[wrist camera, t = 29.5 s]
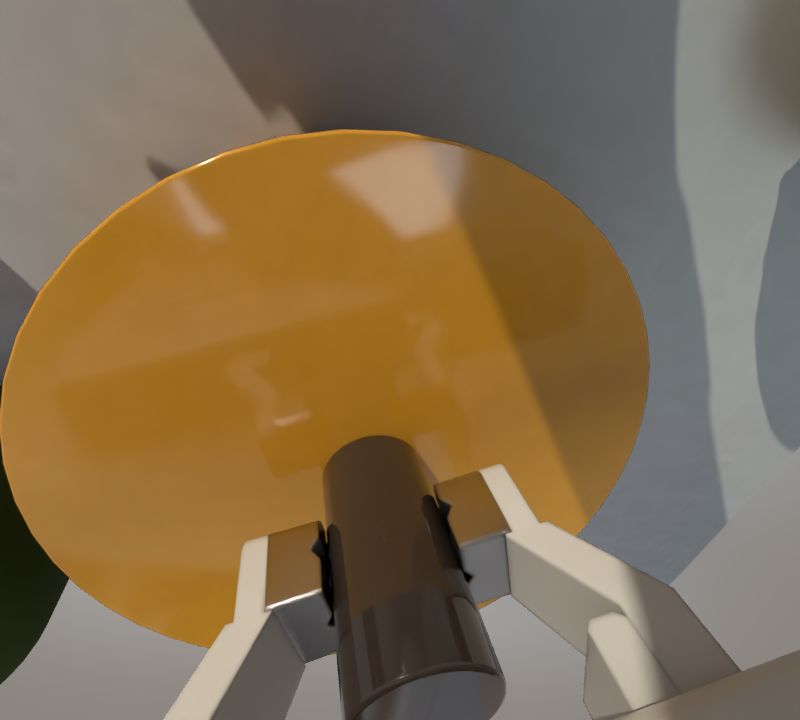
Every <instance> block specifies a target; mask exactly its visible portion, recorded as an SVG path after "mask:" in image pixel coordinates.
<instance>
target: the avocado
mask: <svg viewBox="0 0 800 720" xmlns="http://www.w3.org/2000/svg"><path fill="white" fill-rule="evenodd" d="M2 388H3V386H2V387H0V408H1V398H2ZM68 580H69V577H68V576H67V575H66V574H65V573H64V572H63V571H62V570H61V569H59V568H58V567H57V566H56V565H55V564H54V563H53V561H52V560H51V559H50V557H49V556H48V555H47V553H46V552H45V551H44V550H43V548H42V547H41V546H40V544H39V543H38V542H37V540H36V539H35V538H34V536H33V535H32V534H31V532H30V530H29V528H28V526H27V524H26V522H25V520H24V518H23V516H22V514H21V513H20V511H19V509H18V507H17V505H16V503H15V501H14V498H13V494H12V491H11V488H10V485H9V481H8V478H7V475H6V472H5V468H4V465H3V457H2V448H1V438H0V684H1V683H2V682H3V681H4V680H6V679H7V678H8V677H9V676H10V675H11V674H12V673H13V672H14V671H15V669H16V668H17V667H18V666H19V665H20V664H21V663H22V662H23V661H24V659H25V658H26V657H27V655H28V654H29V652H30V651H31V650H32V648H33V647H34V646H35V644H36V643H37V641H38V640H39V638H40V637H41V635H42V633H43V631H44V629H45V628H46V626H47V624H48V622H49V619H50V617H51V615H52V613H53V611H54V609H55V607H56V605H57V602H58V601H59V599H60V596H61V594H62V592H63V590H64V588H65V586H66V584H67V582H68Z"/></svg>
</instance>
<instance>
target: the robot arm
mask: <svg viewBox="0 0 800 720" xmlns="http://www.w3.org/2000/svg"><path fill="white" fill-rule="evenodd" d="M433 489H434V494H435V498H436V501H437V504H438V506H439V509H440V512H441V515H442V517H443V520H444V522H445V524H446V527H447V529H448V532H449V535H450V537H451V541H452V543H453V546H454V548H455V551H456V553H457V556H458V559H459V561H460V564H461V566H462V569H463V571H464V574H465V576H466V579H467V581H468V584H469V587H470V589H471V592H472V594H473V597H474V600H475V602H476V604H480V603H483V602H486V601H489V600H493V599H496V598H499V597H503V596H506V595H509V594H511V595H512V597H513V598H515V599H516V600H517V601H518V602H519V603H521V604H522V605H523V606H524V607H526V608H527V609H528V610H529V611H531V612H532V613H533V614H534V615H535V616H537V617H538V618H539V619H540V620H542V621H543V622H544V623H545V624H546V625H548V626H549V627H550V628H551V629H552V630H554V631H555V632H556V633H557V634H559V635H560V636H561V637H562V638H563V639H565V640H566V641H567V642H568V643H570V644H571V645H572V646H573V647H575V648H576V649H577V650H578V651H579V652H581V653H582V654H583V655H584V656H586V665H585V681H584V697H583V702H584V704H585V706H586V708H587V710H588V712H589V714H590V716H591V718H592V720H800V650H797V651H795V652H792V653H790V654H787V655H784V656H782V657H779V658H776V659H774V660H771V661H768V662H765V663H763V664H760V665H758V666H755V667H752V668H750V669H747V670H744V671H741V670H740V669H739V667H738V666H737V665H736V664H735V663H734V661H733V660H732V659H731V658H730V657H729V655H728V654H727V653H726V652H725V650H724V649H723V648H722V647H721V646H720V644H719V643H718V642H717V641H716V639H715V638H714V637H713V636H712V635H711V633H710V632H709V631H708V630H707V628H706V627H705V626H704V625H703V624H702V622H701V621H700V620H699V619H698V617H697V616H696V615H695V614H694V613H693V611H692V610H691V609H690V608H689V606H688V605H687V604H686V603H685V602H684V600H683V599H682V598H681V597H680V595H679V594H678V593H677V592H676V591H675V589H674V588H672V587H670V586H668V585H666V584H665V583H663V582H661V581H659V580H657V579H655V578H653V577H651V576H650V575H648V574H646V573H644V572H642V571H640V570H638V569H636V568H635V567H633V566H631V565H629V564H627V563H625V562H623V561H621V560H620V559H618V558H616V557H614V556H612V555H610V554H608V553H606V552H605V551H603V550H601V549H599V548H597V547H595V546H593V545H591V544H590V543H588V542H586V541H584V540H582V539H580V538H578V537H576V536H575V535H573V534H571V533H569V532H567V531H565V530H563V529H561V528H560V527H558V526H556V525H554V524H552V523H550V522H548V521H545V522H542V523H540V522H539V520H538V519H537V517H536V516H535V514H534V512H533V511H532V509H531V508H530V506H529V504H528V503H527V501H526V500H525V498H524V496H523V495H522V493H521V492H520V490H519V489H518V487H517V485H516V484H515V482H514V481H513V479H512V477H511V476H510V474H509V473H508V471H507V469H506V468H505V466H504V465H502V464H501V463H500V464H497V465H494V466H491V467H487V468H484V469H481V470H478V471H474V472H471V473H468V474H465V475H462V476H459V477H455V478H452V479H449V480H446V481H443V482H440V483H437V484H434V485H433ZM335 652H336V642H335V630H334V618H333V607H332V595H331V584H330V572H329V560H328V549H327V541H326V531H325V529H324V527H323V525H322V523H321V521H315V522H311V523H308V524H304V525H301V526H297V527H294V528H290V529H286V530H283V531H279V532H276V533H272V534H270V535H266V536H263V537H259V538H256V539H252V540H249V541H246V542H245V544H244V546H243V548H242V552H241V561H240V569H239V578H238V586H237V595H236V603H235V612H234V620H233V623H230V624H227V625H225V626H224V628H223V629H222V631H221V632H220V634H219V635H218V637H217V638H216V640H215V642H214V643H213V645H212V646H211V648H210V649H209V651H208V652H207V654H206V655H205V657H204V658H203V660H202V661H201V663H200V664H199V666H198V668H197V669H196V670H195V672H194V673H193V675H192V677H191V678H190V680H189V681H188V683H187V684H186V686H185V687H184V689H183V690H182V692H181V693H180V695H179V696H178V698H177V699H176V701H175V702H174V704H173V705H172V707H171V708H170V710H169V712H168V713H167V715H166V716H165V718H164V719H163V720H285V717H286V715H287V712H288V710H289V707H290V705H291V702H292V699H293V697H294V695H295V692H296V690H297V687H298V684H299V682H300V679H301V677H302V674H303V672H304V669H305V665H304V664H305V663H308V662H310V661H313V660H316V659H319V658H321V657H324V656H327V655H329V654H332V653H335Z"/></svg>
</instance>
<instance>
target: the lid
mask: <svg viewBox="0 0 800 720" xmlns="http://www.w3.org/2000/svg"><path fill="white" fill-rule="evenodd" d="M649 367H650V365H649V351H648V336H647V331H646V326H645V322H644V318H643V313H642V309H641V305H640V301H639V299H638V296H637V294H636V292H635V289H634V287H633V284H632V282H631V280H630V277H629V275H628V272H627V270H626V268H625V267H624V265H623V263H622V262H621V260H620V259H619V257H618V256H617V254H616V252H615V251H614V249H613V248H612V246H611V244H610V243H609V241H608V240H607V238H606V237H605V236H604V235H603V233H602V232H601V231H600V230H599V229H598V228H597V227H596V226H595V225H594V224H593V222H592V221H591V220H590V219H589V218H588V217H587V216H586V215H585V214H584V212H583V211H582V210H581V209H580V208H579V207H578V206H576V205H575V204H574V203H573V202H571V201H570V200H569V199H567V198H566V197H565V196H564V195H562V194H561V193H560V192H559V191H557V190H556V189H555V188H553V187H552V186H551V185H550V184H548V183H547V182H546V181H544V180H542V179H541V178H539V177H537V176H535V175H533V174H531V173H530V172H528V171H526V170H524V169H522V168H520V167H519V166H517V165H515V164H513V163H511V162H509V161H508V160H506V159H504V158H501V157H498V156H496V155H493V154H490V153H487V152H484V151H481V150H479V149H476V148H473V147H470V146H467V145H464V144H462V143H459V142H456V141H451V140H446V139H440V138H435V137H430V136H424V135H419V134H413V133H408V132H403V131H387V130H357V129H336V130H327V131H318V132H310V133H301V134H292V135H284V136H280V137H276V138H272V139H269V140H265V141H261V142H257V143H254V144H250V145H246V146H243V147H239V148H235V149H231V150H228V151H225V152H223V153H221V154H218V155H216V156H214V157H212V158H209V159H207V160H205V161H202V162H200V163H198V164H196V165H193V166H191V167H189V168H186V169H184V170H182V171H180V172H177V173H175V174H173V175H170V176H168V177H166V178H165V179H163V180H162V181H160V182H158V183H157V184H155V185H154V186H152V187H151V188H149V189H147V190H146V191H144V192H143V193H141V194H140V195H138V196H137V197H135V198H133V199H132V200H130V201H129V202H127V203H126V204H124V205H122V206H121V207H119V208H118V209H116V210H115V211H114V212H113V213H112V214H111V215H110V216H108V217H107V218H106V219H105V220H104V221H103V222H102V223H101V224H99V225H98V226H97V227H96V228H95V229H94V230H93V231H92V232H91V233H89V234H88V235H87V236H86V237H85V238H84V239H83V240H82V241H80V242H79V243H78V244H77V245H76V246H75V247H74V248H73V249H72V250H71V252H70V253H69V254H68V255H67V257H66V258H65V259H64V261H63V262H62V263H61V264H60V266H59V267H58V268H57V269H56V271H55V272H54V273H53V274H52V276H51V277H50V278H49V279H48V281H47V282H46V283H45V285H44V286H43V287H42V288H41V290H40V291H39V293H38V295H37V297H36V299H35V301H34V303H33V305H32V307H31V308H30V310H29V312H28V314H27V316H26V318H25V320H24V322H23V324H22V325H21V327H20V329H19V331H18V333H17V335H16V339H15V342H14V345H13V349H12V352H11V355H10V358H9V362H8V365H7V368H6V372H5V375H4V378H3V388H2V398H1V408H0V438H1V448H2V457H3V465H4V468H5V472H6V475H7V478H8V481H9V485H10V488H11V491H12V494H13V498H14V501H15V503H16V505H17V507H18V509H19V511H20V513H21V514H22V516H23V518H24V520H25V522H26V524H27V526H28V528H29V530H30V532H31V534H32V535H33V536H34V538H35V539H36V540H37V542H38V543H39V544H40V546H41V547H42V548H43V550H44V551H45V552H46V553H47V555H48V556H49V557H50V559H51V560H52V561H53V563H54V564H55V565H56V566H57V567H58V568H59V569H61V570H62V571H63V572H64V573H65V574H66V575H67V576H68V577H69V578H70V579H71V580H72V581H73V582H74V583H75V584H76V585H77V586H78V587H79V588H81V589H82V590H83V591H85V592H86V593H88V594H89V595H90V596H92V597H93V598H94V599H96V600H97V601H99V602H100V603H101V604H103V605H104V606H105V607H107V608H109V609H110V610H112V611H115V612H116V613H118V614H119V615H121V616H123V617H125V618H127V619H129V620H130V621H132V622H134V623H136V624H138V625H140V626H143V627H145V628H147V629H150V630H153V631H155V632H157V633H160V634H162V635H165V636H167V637H170V638H173V639H177V640H181V641H184V642H187V643H191V644H194V645H197V646H201V647H206V648H211V646H212V645H213V643H214V642H215V640H216V638H217V637H218V635H219V634H220V632H221V631H222V629H223V628H224V626H225V625H227V624H230V623H233V620H234V612H235V603H236V595H237V586H238V578H239V569H240V561H241V552H242V548H243V546H244V544H245V542H246V541H249V540H252V539H256V538H259V537H263V536H266V535H270V534H272V533H276V532H279V531H283V530H286V529H290V528H294V527H297V526H301V525H304V524H308V523H311V522H315V521H321V523H322V525H323V527H324V529H325V531H326V541H327V549H328V560H329V572H330V584H331V595H332V607H333V618H334V630H335V642H336V652H335V653H332V654H337V665H338V675H339V676H338V677H339V688H340V700H341V712H342V720H490V719H491V718H492V717H493V716H494V715H495V714H496V712H497V711H498V710H499V708H500V707H501V705H502V704H503V701H504V699H505V695H506V681H505V678H504V675H503V672H502V670H501V667H500V665H499V662H498V659H497V657H496V654H495V652H494V649H493V646H492V644H491V641H490V639H489V636H488V633H487V631H486V628H485V626H484V623H483V620H482V618H481V615H480V613H479V609H481V608H483V607H485V606H487V605H488V604H490V603H492V602H494V601H496V600H497V599H499V598H501V597H499V598H496V599H493V600H489V601H486V602H483V603H480V604H476V602H475V600H474V597H473V594H472V592H471V589H470V587H469V584H468V581H467V579H466V576H465V574H464V571H463V569H462V566H461V564H460V561H459V559H458V556H457V553H456V551H455V548H454V546H453V543H452V541H451V537H450V535H449V532H448V529H447V527H446V524H445V522H444V520H443V517H442V515H441V512H440V509H439V506H438V504H437V501H436V498H435V494H434V489H433V485H434V484H437V483H440V482H443V481H446V480H449V479H452V478H455V477H459V476H462V475H465V474H468V473H471V472H474V471H478V470H481V469H484V468H487V467H491V466H494V465H497V464H500V463H501V464H502V465H504V466H505V468H506V469H507V471H508V473H509V474H510V476H511V477H512V479H513V481H514V482H515V484H516V485H517V487H518V489H519V490H520V492H521V493H522V495H523V496H524V498H525V500H526V501H527V503H528V504H529V506H530V508H531V509H532V511H533V512H534V514H535V516H536V517H537V519H538V520H539V522H540V523H542V522H545V521H548V522H550V523H552V524H554V525H556V526H558V527H560V528H561V529H563V530H565V531H567V532H569V533H571V534H573V535H575V536H577V535H578V534H579V533H580V532H581V531H582V529H583V528H584V527H585V526H586V525H587V524H588V522H589V521H590V520H591V518H592V517H593V516H594V515H595V513H596V512H597V511H598V509H599V508H600V507H601V506H602V504H603V503H604V501H605V500H606V498H607V496H608V495H609V493H610V492H611V490H612V489H613V487H614V485H615V484H616V482H617V481H618V479H619V477H620V475H621V473H622V471H623V469H624V467H625V465H626V463H627V461H628V458H629V456H630V454H631V452H632V449H633V446H634V443H635V441H636V438H637V435H638V432H639V429H640V427H641V422H642V418H643V413H644V409H645V404H646V400H647V392H648V380H649ZM329 655H330V654H329Z"/></svg>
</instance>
